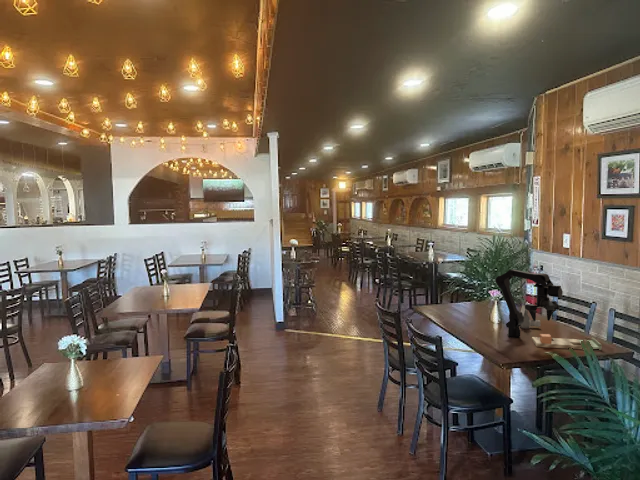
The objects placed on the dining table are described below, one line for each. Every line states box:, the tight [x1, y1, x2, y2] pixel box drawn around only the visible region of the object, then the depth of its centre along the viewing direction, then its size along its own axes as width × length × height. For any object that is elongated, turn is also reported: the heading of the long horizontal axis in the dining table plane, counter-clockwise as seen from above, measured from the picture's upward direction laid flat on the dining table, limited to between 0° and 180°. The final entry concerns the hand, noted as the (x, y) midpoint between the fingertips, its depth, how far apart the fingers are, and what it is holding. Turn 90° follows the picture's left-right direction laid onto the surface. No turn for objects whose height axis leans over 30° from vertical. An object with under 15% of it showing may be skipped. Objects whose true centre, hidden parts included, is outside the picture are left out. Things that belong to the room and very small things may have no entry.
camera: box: [519, 304, 542, 329], centre depth 286 cm, size 9×12×15 cm
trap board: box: [531, 336, 603, 351], centre depth 249 cm, size 33×13×4 cm, turn 74°
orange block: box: [539, 333, 553, 344], centre depth 249 cm, size 5×5×4 cm
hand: (541, 320), depth 253 cm, fingers open, 9 cm apart
